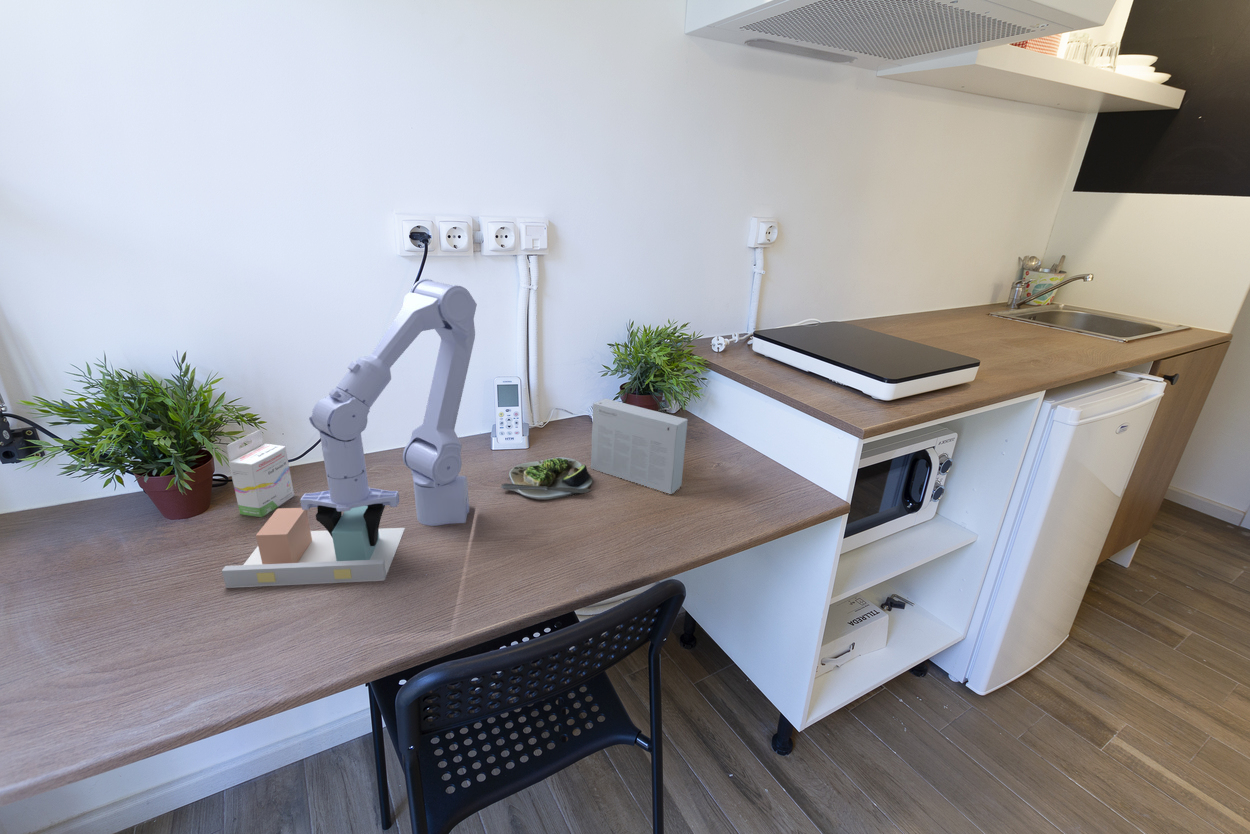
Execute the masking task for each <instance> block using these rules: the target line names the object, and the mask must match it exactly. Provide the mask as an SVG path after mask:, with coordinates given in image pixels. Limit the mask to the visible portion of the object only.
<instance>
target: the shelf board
mask: <svg viewBox="0 0 1250 834" xmlns="http://www.w3.org/2000/svg"><path fill="white" fill-rule="evenodd" d="M405 529H406V528H405V527H390V528H388V527H386V528H384V527H383V528H379V529H378V530H379V540H378V542H377V545H376V547H375V549H374V551H373V553H372V556H371V558H370V560H355V561H336V555H335V549H334V543H333V538H332V536H331V535H330V533H329V532H328V531H327V529H326V530H310V531H311V537H312V542H311V543H310V545H309V546H308V548H307V549H306V551H305V552H304V554H303V556H302V557H301V559H300V560H299V562H298V563H283V564H262V560H261V556H260V552H259V547H258V546H256V548H255V549H254V550H253V552H252V553H251V554H250V556H248V558H247V559H246V560H245V562H244V563H243V564H242V565H240V564H239V565H238V564H237V565H225V566H224V567H223V568H222V570H221V573H222V577H223V581H224V585H225V589H228V588H231V589H232V588H248V587H249V588H250V587H251V588H252V587H271V586H272V587H273V586H274V587H275V586H292V585H293V586H296V585H314V584H315V585H316V584H317V585H318V584H319V585H320V584H337V583H359V582H360V583H361V582H377V581H378V582H379V581H380V582H381V581H383V582H384V581H385V580H386V578H387V575H388V573H389V570H390V567H391V564H392V562H393V559H394V558H395V554H396V552H397V549H398V548H399V547H398V546H399V545H400V541H401V540H402V539H401V538H402V537H403V534H404V531H405Z"/></svg>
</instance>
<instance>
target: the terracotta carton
mask: <svg viewBox="0 0 1250 834" xmlns="http://www.w3.org/2000/svg"><path fill="white" fill-rule="evenodd" d="M309 521H310V520H309V516H308V511H307V510H302V507H290V508H289V507H286V508H285V507H282V508H279V507H277V508H276V509H275V510H274V512H273V514H272V515H271V516H270V517H269V518H268V519H267V521H266V522H265V523H264V525H262V527H261V528H260V529H259V531H258V532H257V533H256V535H255V538H256V542H257V547H259V552H260V556H261V560H262V564H283V563H298V562H299V560H300V559H301V557H302V556H303V554H304V552H305V551H306V549H307V548H308V546H309V545H310V543H311V542H312V537H311V531H312V530H311V527H310V523H309Z"/></svg>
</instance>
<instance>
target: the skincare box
mask: <svg viewBox="0 0 1250 834" xmlns="http://www.w3.org/2000/svg"><path fill="white" fill-rule="evenodd" d="M688 422H689V421H688V418H683V417H680V416H675V415H672V414H668V413H664V412H660V411H657V410H652V409H648V408H645V407H640V406H637V405H633V404H628V403H624V402H620V401H617V400H614V399H610V398H602V399H600V400H598V401H596V402H593V403H592V428H591V452H590V453H591V456H590V457H591V458H590V470H593V469H594V471H596V470H597V472H599V471H600V473H602V472H603V474H605V473H606V474H605V475H608V474H610V475H609V476H611V475H613V476H612V477H614V476H616V477H615V478H617V477H619V478H618V479H620V478H622V479H621V480H623V479H625V480H624V481H626V480H628V481H627V482H629V481H631V482H630V483H632V482H635V483H634V484H636V483H638V484H637V485H639V484H641V485H640V486H642V485H644V486H643V487H645V486H647V487H646V488H648V487H650V488H649V489H651V488H654V489H657V490H660V491H663V492H666V493H669V494H672V493H673V492H674V493H676V492H677V491H678V490H679V489H680V488H679V487H680V486H681V487H682V485H683V484H682V483H683V472H684V461H685V453H686V452H685V451H686V442H687V432H688V431H687V430H688ZM678 488H679V489H678ZM654 489H653V490H654ZM677 489H678V490H677ZM657 490H656V491H657ZM676 490H677V491H676ZM660 491H659V492H660ZM675 491H676V492H675ZM663 492H662V493H663ZM666 493H665V494H666ZM674 493H673V494H674ZM669 494H668V495H669ZM673 494H672V495H673Z"/></svg>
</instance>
